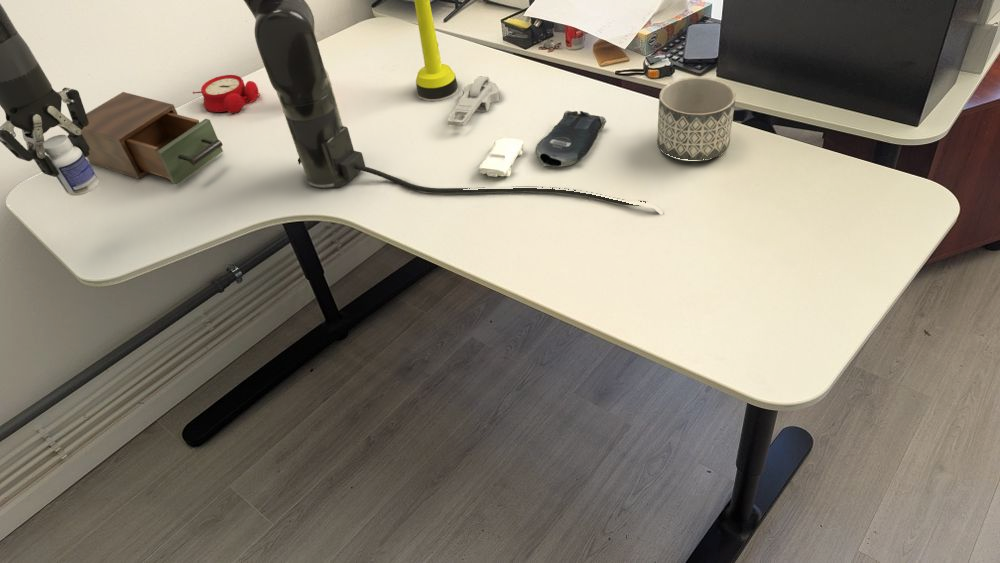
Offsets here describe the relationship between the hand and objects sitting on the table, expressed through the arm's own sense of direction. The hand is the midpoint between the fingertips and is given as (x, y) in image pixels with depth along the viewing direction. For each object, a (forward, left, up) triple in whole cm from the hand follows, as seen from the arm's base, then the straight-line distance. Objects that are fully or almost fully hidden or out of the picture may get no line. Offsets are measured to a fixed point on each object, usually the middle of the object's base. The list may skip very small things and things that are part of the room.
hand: (69, 164), depth 117 cm
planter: (-83, -63, -17) cm, 106 cm away
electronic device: (-62, -55, -17) cm, 85 cm away
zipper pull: (-38, -60, -17) cm, 73 cm away
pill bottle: (0, 0, -5) cm, 5 cm away
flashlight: (-26, -65, -17) cm, 72 cm away
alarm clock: (+16, -45, -17) cm, 51 cm away
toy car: (-53, -46, -17) cm, 72 cm away
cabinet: (+20, -22, -16) cm, 34 cm away
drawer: (+7, -22, -16) cm, 28 cm away
